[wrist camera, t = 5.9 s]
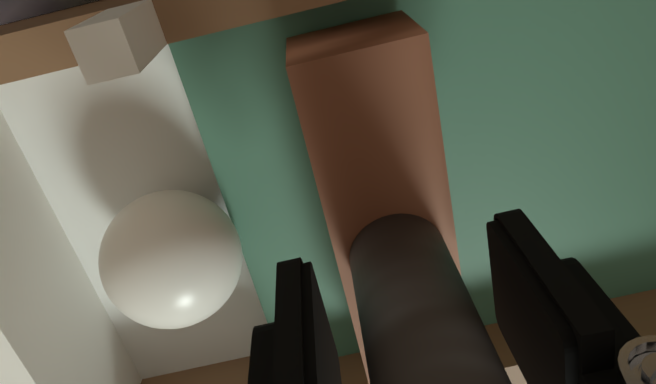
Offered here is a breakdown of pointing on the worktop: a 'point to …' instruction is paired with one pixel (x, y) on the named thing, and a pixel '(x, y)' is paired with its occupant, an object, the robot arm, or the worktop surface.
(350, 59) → the striker
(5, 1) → the worktop surface
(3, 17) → the worktop surface
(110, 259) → the ball
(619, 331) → the robot arm
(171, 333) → the pitch
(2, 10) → the worktop surface
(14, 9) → the worktop surface
